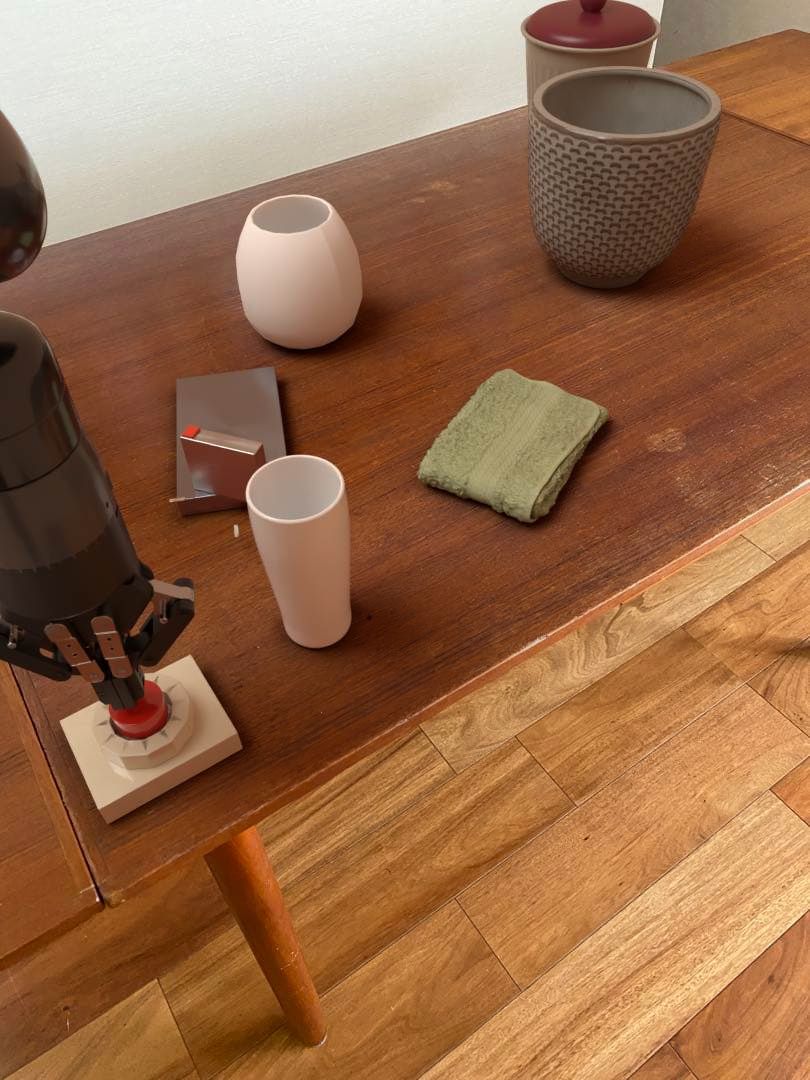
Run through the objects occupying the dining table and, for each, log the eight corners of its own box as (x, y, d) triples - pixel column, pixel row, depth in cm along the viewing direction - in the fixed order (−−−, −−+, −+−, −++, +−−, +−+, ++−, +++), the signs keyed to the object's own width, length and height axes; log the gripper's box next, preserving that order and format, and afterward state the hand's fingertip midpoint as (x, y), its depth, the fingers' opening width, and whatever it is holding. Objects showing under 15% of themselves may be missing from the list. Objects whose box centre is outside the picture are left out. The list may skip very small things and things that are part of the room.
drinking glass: (329, 578, 72) (308, 439, 61) (378, 628, 68) (366, 490, 57) (259, 619, 69) (224, 482, 58) (306, 674, 65) (279, 539, 54)
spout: (273, 494, 76) (262, 440, 71) (265, 506, 75) (253, 452, 70) (203, 477, 77) (188, 423, 73) (194, 489, 76) (178, 434, 72)
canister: (578, 117, 134) (595, -44, 118) (667, 155, 123) (698, -15, 108) (487, 149, 127) (493, -16, 111) (573, 193, 117) (593, 17, 101)
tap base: (306, 543, 74) (303, 526, 73) (174, 564, 73) (168, 546, 72) (283, 380, 90) (280, 363, 89) (174, 395, 89) (169, 378, 88)
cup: (310, 284, 103) (296, 172, 93) (389, 324, 97) (383, 209, 87) (223, 332, 97) (198, 217, 87) (302, 379, 90) (285, 261, 80)
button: (126, 748, 57) (119, 735, 56) (107, 709, 59) (100, 695, 58) (177, 721, 59) (171, 707, 57) (156, 684, 61) (150, 670, 59)
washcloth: (613, 420, 84) (618, 393, 82) (537, 536, 74) (540, 509, 72) (492, 381, 89) (494, 355, 87) (405, 486, 79) (404, 459, 76)
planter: (495, 240, 109) (503, 78, 95) (640, 216, 112) (668, 55, 98) (555, 325, 96) (574, 151, 82) (716, 294, 99) (762, 122, 85)
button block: (107, 824, 58) (89, 797, 55) (68, 736, 62) (50, 706, 59) (243, 748, 61) (233, 718, 58) (196, 670, 66) (185, 639, 63)
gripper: (-112, 586, 41) (17, 766, 54) (169, 543, 43) (231, 728, 55) (-82, 481, 46) (30, 668, 59) (168, 446, 48) (225, 636, 60)
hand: (127, 697), depth 57 cm, fingers closed
